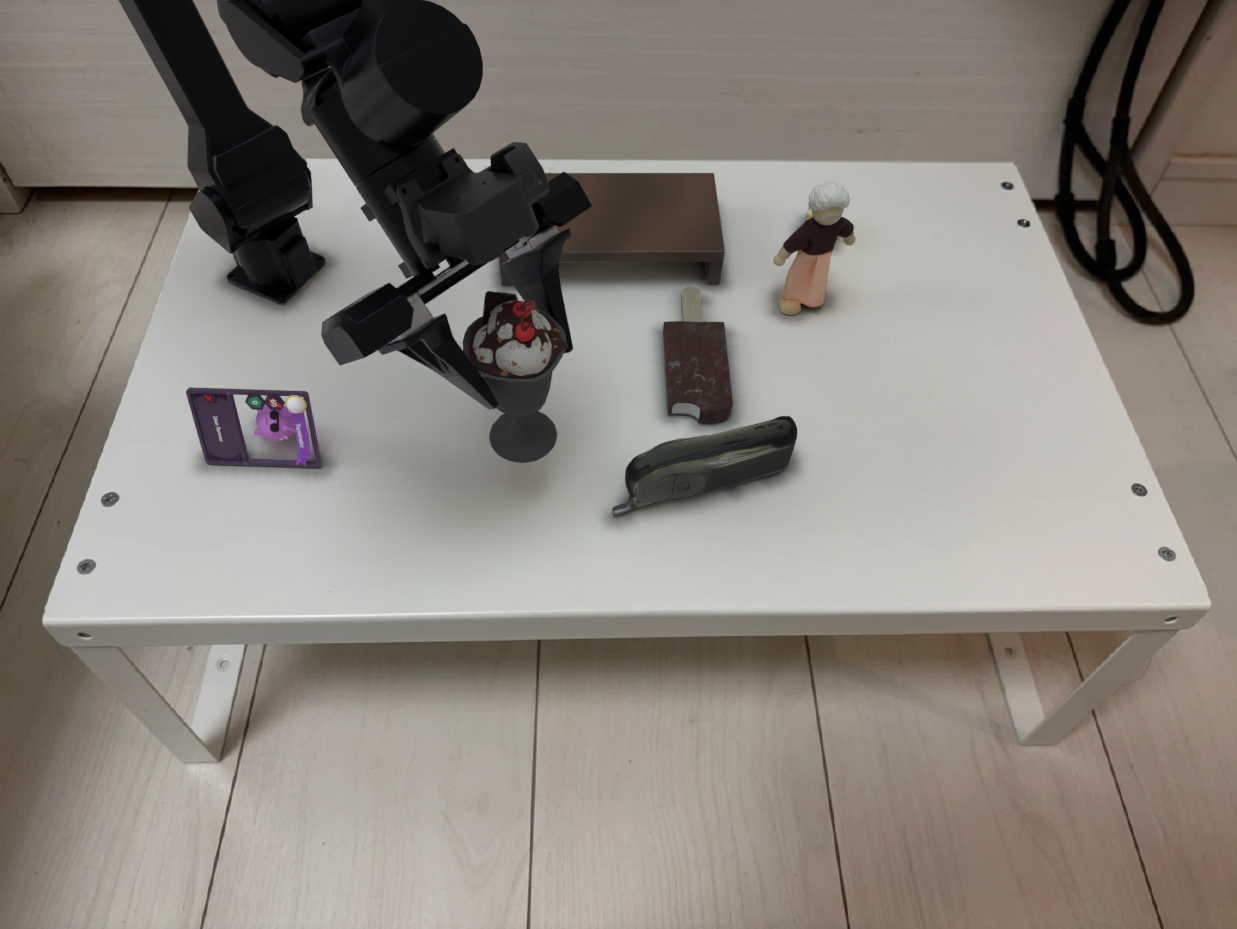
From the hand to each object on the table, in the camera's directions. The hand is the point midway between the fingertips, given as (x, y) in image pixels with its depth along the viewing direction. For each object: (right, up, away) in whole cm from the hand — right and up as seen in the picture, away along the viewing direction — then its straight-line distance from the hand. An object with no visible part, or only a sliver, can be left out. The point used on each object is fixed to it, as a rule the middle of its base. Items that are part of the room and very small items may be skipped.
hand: (531, 379), depth 61 cm
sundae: (-1, -4, +7) cm, 8 cm away
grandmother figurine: (+23, +9, +24) cm, 34 cm away
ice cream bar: (+12, +4, +19) cm, 23 cm away
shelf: (+5, +15, +27) cm, 32 cm away
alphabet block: (+25, +17, +29) cm, 42 cm away
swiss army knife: (+12, -7, +12) cm, 18 cm away
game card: (-22, -4, +13) cm, 26 cm away
